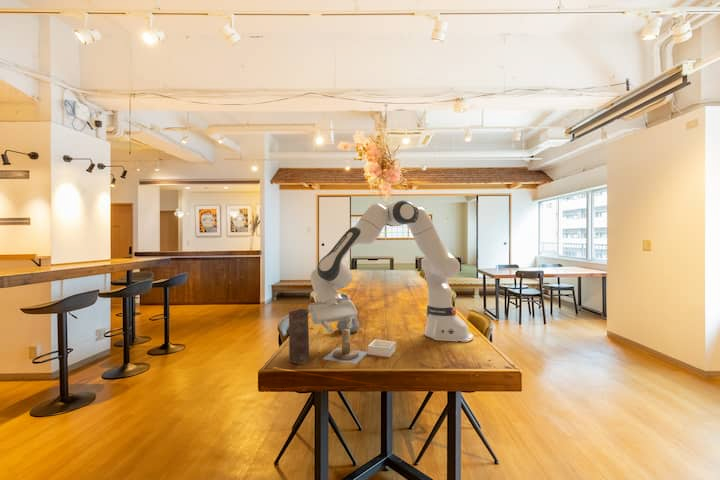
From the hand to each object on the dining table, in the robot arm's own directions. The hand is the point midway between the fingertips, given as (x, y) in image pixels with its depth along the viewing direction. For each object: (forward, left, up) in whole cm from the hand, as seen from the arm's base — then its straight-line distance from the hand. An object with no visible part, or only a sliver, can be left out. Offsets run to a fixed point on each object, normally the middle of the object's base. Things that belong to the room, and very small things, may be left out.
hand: (340, 329), depth 138 cm
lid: (-3, +2, -9) cm, 10 cm away
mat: (-3, +2, -10) cm, 11 cm away
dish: (-15, -7, -10) cm, 19 cm away
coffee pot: (+15, -30, -10) cm, 35 cm away
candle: (+11, +14, -10) cm, 21 cm away
